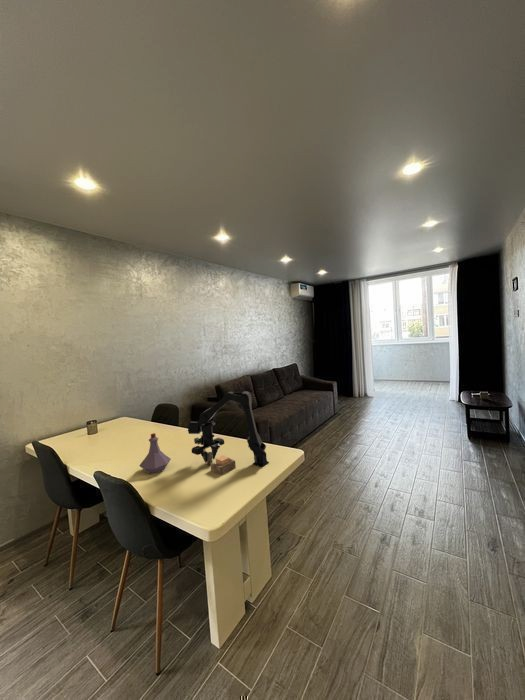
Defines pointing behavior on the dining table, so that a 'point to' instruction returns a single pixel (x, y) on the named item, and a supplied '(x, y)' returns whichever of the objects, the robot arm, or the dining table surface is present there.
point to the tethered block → (217, 459)
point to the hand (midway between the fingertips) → (209, 460)
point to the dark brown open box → (223, 467)
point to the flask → (154, 458)
